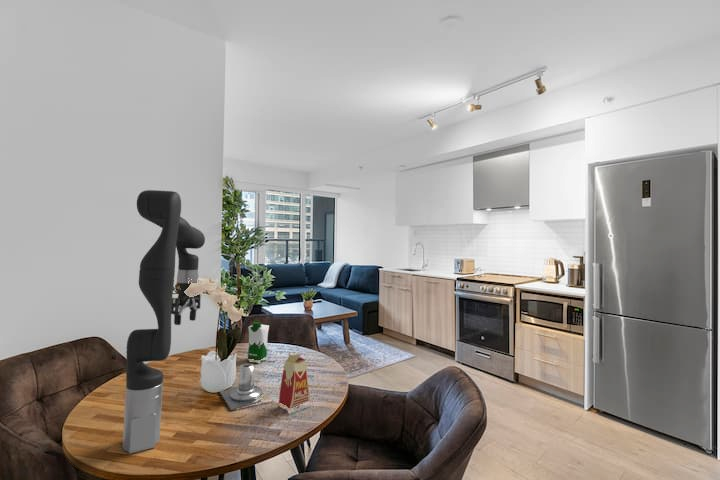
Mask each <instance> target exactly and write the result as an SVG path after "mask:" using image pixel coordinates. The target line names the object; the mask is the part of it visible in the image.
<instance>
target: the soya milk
mask: <svg viewBox="0 0 720 480" xmlns="http://www.w3.org/2000/svg"><path fill="white" fill-rule="evenodd" d="M247 327H248V351H247V360H248V359H254V360H261V359H263V358H264V357H266V356H267V357H268V353H267V352H268V338H269V337H268V335H269V330H270V325H267V324H262V322H260V321H253V322H252V325H249V326H247Z"/></svg>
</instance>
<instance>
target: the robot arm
mask: <svg viewBox="0 0 720 480" xmlns="http://www.w3.org/2000/svg"><path fill="white" fill-rule="evenodd" d="M136 209H137V212H138V213H139V214H138V215H140V217H142V218H143V219H144V220H146V221H149V222H150V223H152V224H154V225H156V226H158V227H159V228H162V229H161V232H160V233H159V236H158V238H157V240H156V241H155V242H154V243H153V245H152V246H151V247H150V249H149V250H148V251H147V252H146V253H145V255H144V256H143V257H142V259H141V260H140V261H141V262H140V264H139V273H138V287H139V289H140V291H141V293H142V294H143V296H144V298H145V300H146V301H147V303H148V304H149V305H150V307H151V308H152V310H153V313H154V314H155V317H156V321H157V328H147V329H146V328H143V329H142V328H141V329H134V330H133V331H131V332H130V333H129V335H128V336H127V337H128V338H127V341H126V374H125V375H126V379H125V380H126V383H125V398H124V399H125V400H124V414H123V432H122V450H123V451H125V452H128V454H129V455H131V454H134V453H137V452H138V453H139V452H143V451H146V450H149V449H154V448H155V447H156V445H157V444H158V443H159V441H160V439H161V438H160V437H161V423H162V422H161V420H162V403H163V402H162V401H163V388H164V387H163V386H164V373H163V371H161V370H160V369H158V368H154V367H151V366H149V365H147V364H146V362H159V361H160V362H161V361H164V360H167V359H168V357H169V356H170V352H171V347H172V346H171V345H172V315H174V317H173V319H174V320H173V324H174V325H175V326H180V325H181V324H182V314H183V311H184V310H186V308H189V321H192V322H193V321H196V319H197V311H198V310H200V309H201V294H200V293H198V294H199V295H197V296H194V297H189V296H187V295H186V294H185V293H184V291H185V290H186V289H187V288H188V287H189V285H190V284H191V282H192V283H197V279H198V280H199V256H198V255H197V254H192V253H190V252H188V251H187V249H192V250H193V249H201V248H202V247H203V246H204V245H205V241H206V237H205V234H204V233H203V232H202V231H201V230H200V229H198V228H196V227H194V226H192V225H191V224H190V223H189V222H188V221H187V220H186V219H185V218H183V217H182V216H181V214H182V199H181V196H180V194H179V193H178V191H172V190H153V189H149V190H148V189H147V190H143V191H141V192H140V193H139V194H138V196H137V199H136ZM176 253H177V257H178V267H177V268H178V269H177V275H176V274H175V273H176V270H175V269H176ZM175 275H176V286H177V285H179V286H180V288H181V290H175V293H176V294H177V295H178V296H177V297H173V292H174V285H175V284H174V283H175ZM188 278H189V279H188ZM191 279H192V280H191ZM189 280H190V281H189ZM188 281H189V284H188ZM144 362H145V363H144Z"/></svg>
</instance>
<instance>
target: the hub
mask: <svg viewBox="0 0 720 480" xmlns="http://www.w3.org/2000/svg"><path fill="white" fill-rule="evenodd" d="M238 373H239V375H238V386H239V387H238V386H237V387H238V388H237V394H239V395H250V394H252V393H254V391H255V387H254V382H255V380H254V379H255V363H243V364H240V365H239V371H238Z"/></svg>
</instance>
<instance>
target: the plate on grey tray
mask: <svg viewBox="0 0 720 480" xmlns="http://www.w3.org/2000/svg"><path fill="white" fill-rule="evenodd" d="M238 387H239V385H237V386H234V387H229V388H230V389H228V388H227V389H228V390H225V391H220V393H219V395H220V394H221V395H222V396H221V395H220V396H221V398H222V397H223V398H222V399H224V400H225V401H224V400H223V401H224V403H225V402H226V403H227V405H228V406H229V408H230V409H229V408H228V409H229V411H230V410H234V409H237V408H242V407H245V406H249V405H252V404H256V403H259V402H261V400H259V397H260V396H261V395H262V389H261V388H260V387H257V386H254V387H255V391H254V393H252V394H250V395H239V394H237V388H238ZM226 403H225V404H226ZM227 405H226V406H227ZM228 406H227V407H228Z"/></svg>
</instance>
